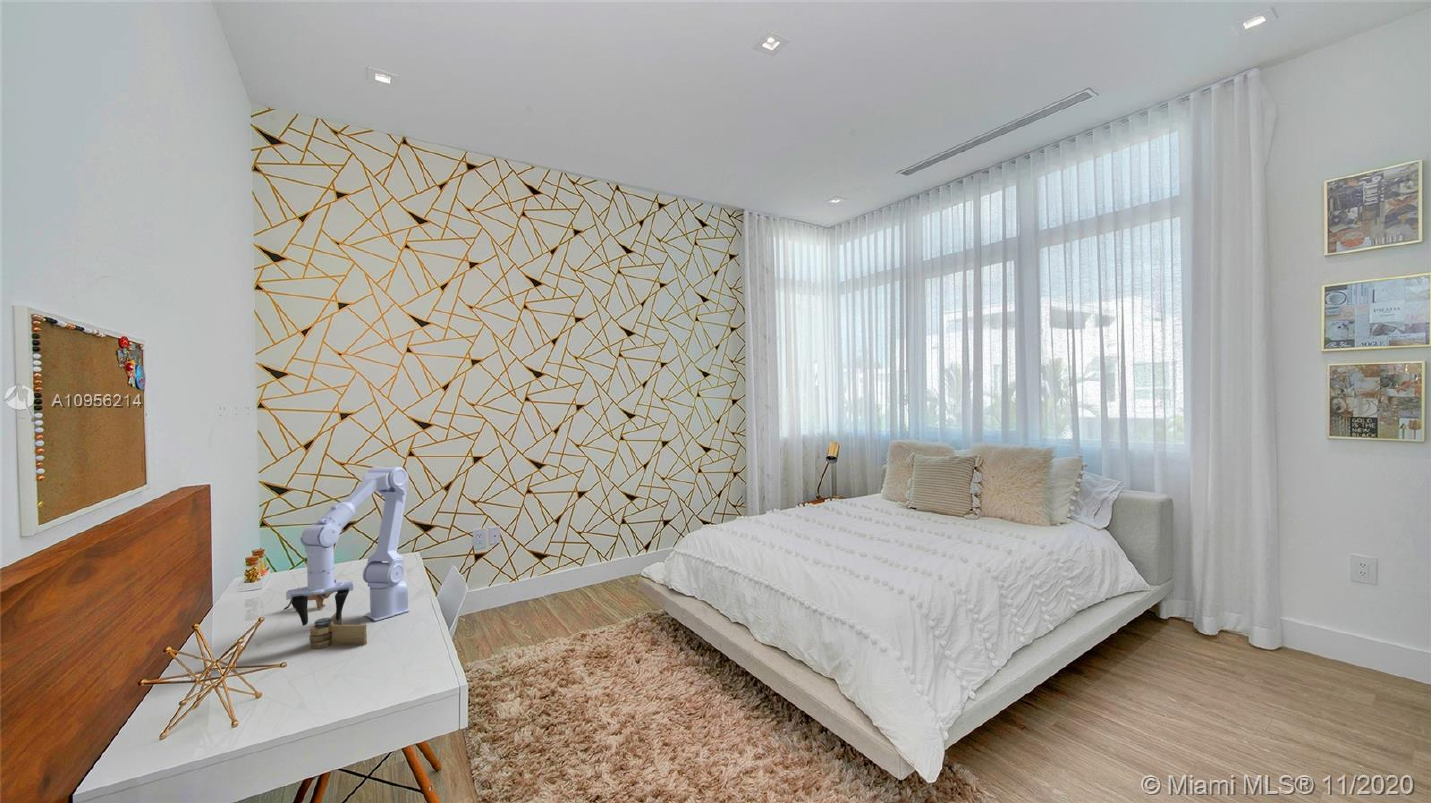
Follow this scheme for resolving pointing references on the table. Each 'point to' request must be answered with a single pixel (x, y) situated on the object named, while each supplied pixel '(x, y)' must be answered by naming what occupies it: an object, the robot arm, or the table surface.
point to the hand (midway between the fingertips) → (322, 621)
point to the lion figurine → (318, 599)
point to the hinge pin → (323, 622)
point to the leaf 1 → (327, 635)
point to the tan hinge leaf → (339, 635)
